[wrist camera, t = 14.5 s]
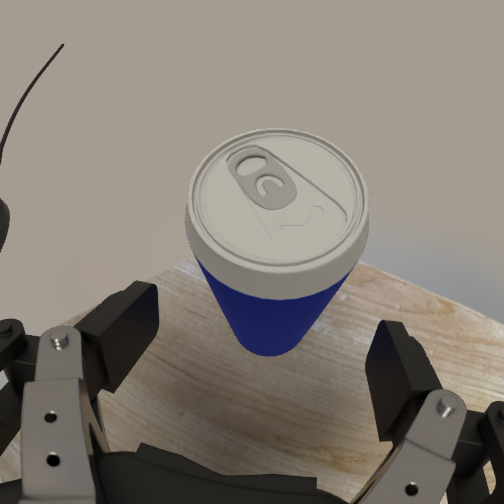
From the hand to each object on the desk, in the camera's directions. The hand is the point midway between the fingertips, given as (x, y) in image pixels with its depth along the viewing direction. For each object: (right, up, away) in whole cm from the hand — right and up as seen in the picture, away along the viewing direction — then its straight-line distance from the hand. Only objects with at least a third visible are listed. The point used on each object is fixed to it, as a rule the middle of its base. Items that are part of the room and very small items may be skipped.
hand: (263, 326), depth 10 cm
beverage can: (+1, -2, +11) cm, 11 cm away
